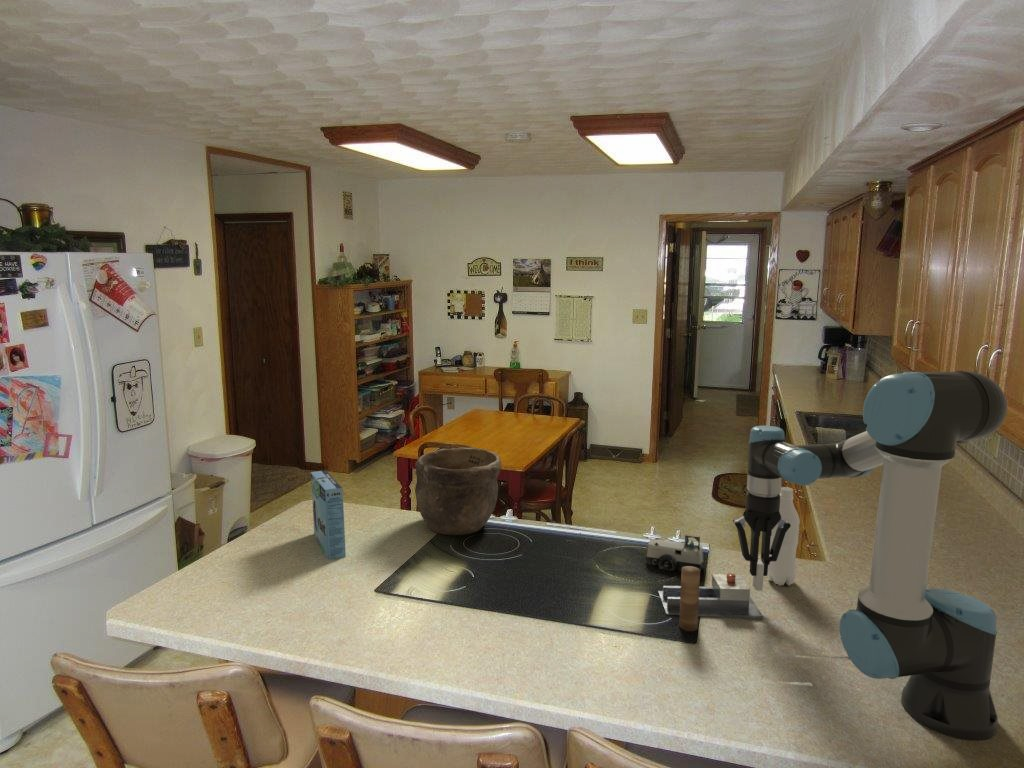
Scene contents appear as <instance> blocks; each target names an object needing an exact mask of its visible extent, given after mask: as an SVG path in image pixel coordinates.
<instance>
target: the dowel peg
mask: <svg viewBox="0 0 1024 768" xmlns="http://www.w3.org/2000/svg"><path fill="white" fill-rule="evenodd" d="M680 576H681V577H680V586H681V594H680V616H679V621H678V622H679V623H678V626H679V628H680V629H682V630H683V631H686V632H695V631H697V630H698V626H699V617H698V606H699V587H700V580H701V571H700V569H699V568H697V567H693V566H685V567H682V570H681V575H680Z"/></svg>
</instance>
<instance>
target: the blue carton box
mask: <svg viewBox="0 0 1024 768" xmlns="http://www.w3.org/2000/svg"><path fill="white" fill-rule="evenodd" d="M310 482H311V483H310V484H311V499H312V502H311V503H312V516H313V517H312V518H313V534H314V537H315V538H316V541H317V543H318V545H319V547H320V549H321V551H322V552H323V554H324V556H325V557H326V558H327V560H334V559H342V558H346V556H347V554H346V533H345V532H346V531H345V513H344V512H345V511H344V510H345V509H344V493H343V487H342V486H341V485H340V484H339V482H338V481H337V480H336V479H335V478H334V477H333V476H332V475H331V474H330V473H329V472H328V470H318V471H310Z"/></svg>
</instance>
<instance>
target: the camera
mask: <svg viewBox="0 0 1024 768" xmlns="http://www.w3.org/2000/svg"><path fill="white" fill-rule="evenodd" d="M689 538H693V539H695V540H696V542H698V544H694V541H693V540H691V541H690V540H689ZM645 560H646V564H647V565H649V566H654V567H658V569H659V570H660V569H661V570H666V571H672V572H675V571H681V570H682V567H685V566H693V567H697V568H699V569H700V572H701V570H702V567H703V563H704V562H705V559H704V548H703V545H701V536H700V535H694V534H687V533H686V534H684V542H683V543H682V542H676V541H671V540H661V539H658V538H650V540H649V541H648V543H647V547H646V556H645Z"/></svg>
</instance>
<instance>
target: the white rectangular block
mask: <svg viewBox="0 0 1024 768" xmlns="http://www.w3.org/2000/svg"><path fill="white" fill-rule="evenodd" d="M711 576H712V577H711V587H713V588H714V590H715V592H716V594H717V596H718V597H719V599H720V600H741V601H750V597H751V588H750V587H749V585H748V583H747V582H746V581H745V579H744V578H743V576H742V575H741V574H735V573H726V574H720V573H718V574H716V573H715V574H714V573H713V574H712V575H711Z"/></svg>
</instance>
